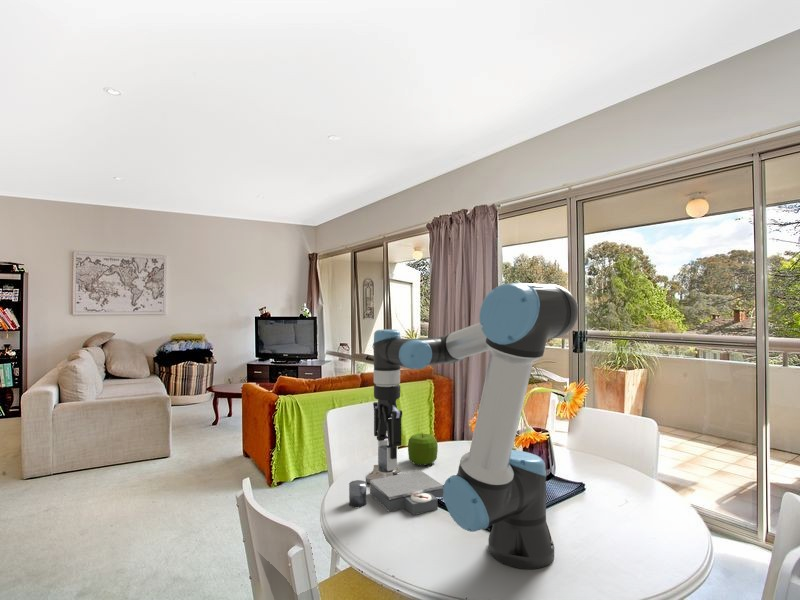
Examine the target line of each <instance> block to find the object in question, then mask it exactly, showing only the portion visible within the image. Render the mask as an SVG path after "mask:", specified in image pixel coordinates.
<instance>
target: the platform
mask: <svg viewBox="0 0 800 600" xmlns="http://www.w3.org/2000/svg"><path fill="white" fill-rule="evenodd" d="M370 483H371V484H372V485H373V486H374V487H375V488H376V489H377V490H378V491H380V492H381V493H382V494H383V495H384V496H385V497H386V498H387V499H389V500H392V499H396V498H401V497H405V496H410V495H414V494H419V493H423V492H427V491H432V490H436V489H441V488H442V489H443V488H444V484H442V483H441V482H439V481H438V480H436V479H434V478H433V477H431V476H430V475H428V474H427V473H425V472H424V471H423V470H414V471H409V472H405V473H404V472H403V473H398V474H394V475H393V476H389V477H384V478H379V479H373V480H370ZM370 483H369V484H370Z"/></svg>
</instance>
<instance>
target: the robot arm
mask: <svg viewBox="0 0 800 600" xmlns="http://www.w3.org/2000/svg"><path fill="white" fill-rule="evenodd" d="M479 309H480V310H479V318H478V319H479V322H477V323H475V324H472V325H469V326H467V327H466V326H465V327H464V328H461V329H459V330H455V331H453V332H451V333H448V334H445V335H442V336H435V337H420V338H401V337H402V336H401V332H400V331H399V329H377V330H375V331H374V333H373V343H372V346H373V383H374V386H373V397H374V399H376V400H377V401H374V402H373V403H372V405H373V435H374V437H376V440H377V449H378V448H379V447H380V446H384V445H388V446H386V447H387V470H388V471H390V470H395V469H397V467H398V447H402V443H403V442H402V417H403V411H402V410H401V409H399V410H398V407H397V406H398V405H397V400H399V399H400V398H401V385H400V383H401V374H402V372H401V367H402V368H403V367H404V368H406V369H410V370H422V369H423V370H424V369H425V368H426V367H427V366H434V365H442V364H453V363H457V362H460V361H462V360H464V358H468V357H471V356H474V355H478V354H481V353H482V354H483V353H485V352H489V351H490V356H489V359H488V365H487V368H486V375H485V379H484V383H483V388H482V393H481V398H480V402H479V408H478V412H477V416H476V420H475V425H474V428H473V429H474V430H473V434H472V439H471V443H470V449H469V451H467V452H466V453H464V454H462V456H461V457H460V460H459V464H458V465H459V466H458V470H457V473H456V475H455V474H454V475H453V474H452V475H451V476H449V477H448V478H447V479H446V480H445V482H444V483H443V488H442V489H443V501H444V504H445V507H446V508H447V511H448V513H449V516H450V517H451V518H452V520H453V522H455V523H456V524H457V525H458V526H459V527H460V528H461V529H463V530H465V531H467V532H473V533H474V532H477V531H481V530H486V529H488V528H489V527H491V526H492V528H491V531H490V533H489V535H488V541H487V543H488V551H489V554H490V555H491V556H492V557H493V558H494V559H495V560H497V561H499V562H500V563H502V564H504V565H506V566H509V567H512V568H516V569H523V570H526V569H527V570H533V569H534V570H535V569H536V570H537V569H541V568H544V567H546V566H548V565H550V564H552V562H553V561H554V559H555V544H554V541H553V538H552V535H551V532H550V529H549V525H548V523H547V473H546V463H545V461H544V459H543V458H542V457H540V456H539V455H536V454H535V453H534V454H533V453H532V452H528V451H523V450H515V449H513V448H514V444H515V441H516V440H515V439H516V436H517V432H518V427H519V424H520V419H521V417H522V416H521V414H522V410H523V406H524V402H525V397H526V394H527V390H528V385H529V383H530V382H529V381H530V377H531V373H532V370H533V369H532V368H533V365H534V363H535V362H536V361H538V360H540V359H542V358H543V357H544V352H545V349H546V346H547V342H548V340H554V339H558V338H561V337H564V336H565V335H567V334H568V333H569V332H571V331H572V329H573V328H574V327H575V325H576V323H577V321H578V315H579V307H578V304H577V301H576V298H575V297H574V296H573V294H572V293H571V292H570V291H569V290H568V289H566V288H564V287H563V286H561V285H558V284H554V283H531V282H530V283H529V282H520V281H518V282H512V283H503V284H500V285H498V286H496V287H495V288H494V289H492V290H490V291H489V292H488V294H487V295H486V296H485V297H484V300H482V303H481V306H480V308H479Z"/></svg>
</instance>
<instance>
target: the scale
mask: <svg viewBox="0 0 800 600" xmlns="http://www.w3.org/2000/svg"><path fill="white" fill-rule="evenodd" d="M369 494H370V495H371V496H372V497H373V499H375V500H376V501H377V502H378V503H379V504H380V505H381V506H383V507H384V508H385V509H386V510H387V512H394V511H398V510H404V509H405V510H406V511H408V512H409V513H410V514H411V515H412V516H415V515H420V514H424V513H427V512H432V511H435V510H438V507H439V505H438V501H439V500H438V499H437V498H436V497H443V498H444V495H443V488H441V489H436V490H432V491H427V492H423V493H419V494H414V495H410V496H405V497H401V498H396V499H392V500H389V499H387V498H386V497H385V496H384V495H383V494H382V493H381V492H380V491H378V490H377V489H376V488H375V487H374V486H373V485H372V484H370V483H369Z"/></svg>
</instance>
